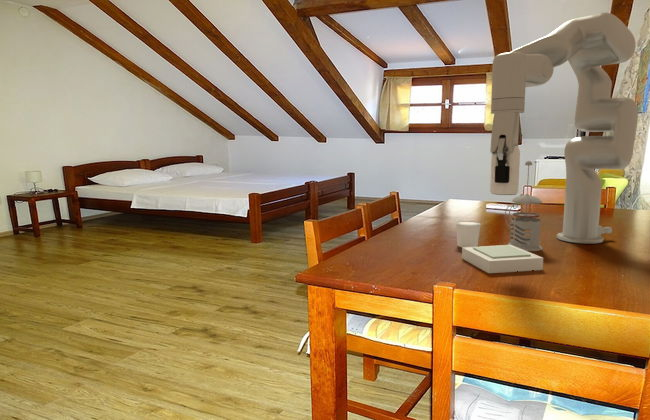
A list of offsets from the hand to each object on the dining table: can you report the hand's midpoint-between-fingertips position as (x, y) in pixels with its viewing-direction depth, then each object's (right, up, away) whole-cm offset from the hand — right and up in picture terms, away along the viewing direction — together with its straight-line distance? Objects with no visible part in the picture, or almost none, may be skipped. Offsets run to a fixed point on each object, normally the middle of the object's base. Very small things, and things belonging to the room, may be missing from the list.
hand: (504, 180), depth 112 cm
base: (0, -21, +3) cm, 21 cm away
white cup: (-2, -18, +23) cm, 29 cm away
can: (0, -3, +1) cm, 3 cm away
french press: (+14, -18, +21) cm, 31 cm away
